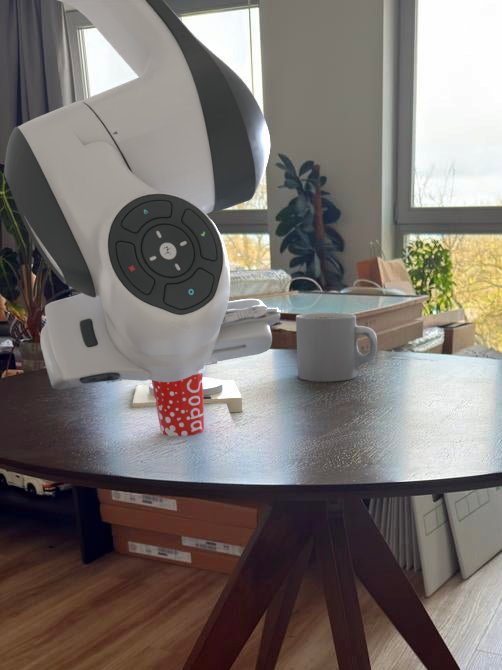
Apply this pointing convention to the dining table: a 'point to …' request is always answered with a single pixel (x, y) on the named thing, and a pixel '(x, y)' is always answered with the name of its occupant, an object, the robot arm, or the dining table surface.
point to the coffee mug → (331, 346)
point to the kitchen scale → (211, 394)
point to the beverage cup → (180, 405)
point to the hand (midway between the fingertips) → (160, 365)
